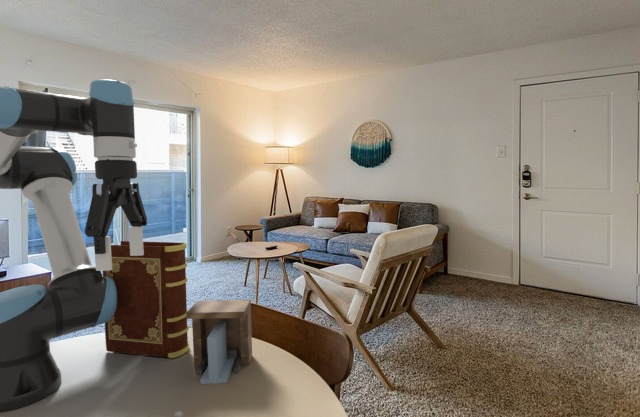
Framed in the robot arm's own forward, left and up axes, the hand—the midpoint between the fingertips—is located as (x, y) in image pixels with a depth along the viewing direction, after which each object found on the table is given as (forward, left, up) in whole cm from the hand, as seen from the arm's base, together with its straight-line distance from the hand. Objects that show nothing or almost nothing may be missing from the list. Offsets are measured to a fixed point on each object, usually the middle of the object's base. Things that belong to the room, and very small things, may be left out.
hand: (122, 262), depth 79 cm
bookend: (+16, +12, -31) cm, 37 cm away
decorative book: (-6, +25, -31) cm, 40 cm away
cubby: (+16, +15, -31) cm, 38 cm away
